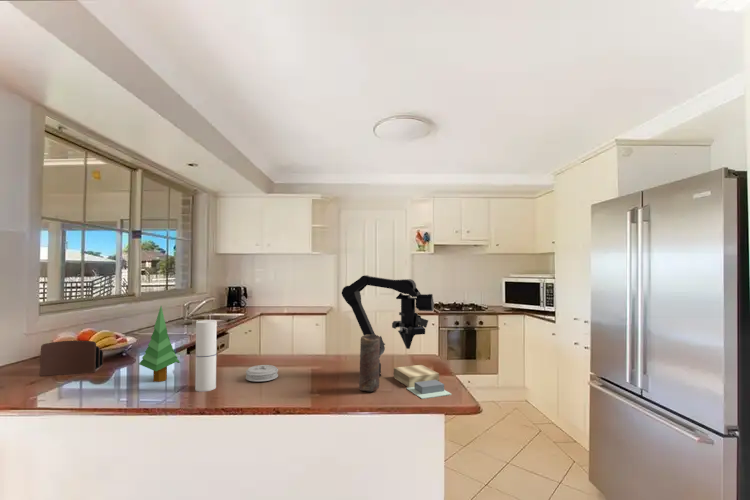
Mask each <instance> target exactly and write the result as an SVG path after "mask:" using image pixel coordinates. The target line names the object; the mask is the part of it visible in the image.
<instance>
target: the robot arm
mask: <svg viewBox="0 0 750 500" xmlns="http://www.w3.org/2000/svg"><path fill="white" fill-rule="evenodd" d="M367 286H371V287H376V288H377V287H378V288H384V289H385V288H386V289H390V290H394V291H396V292H398V293H399V294H398V295H397V296H396V297H395V298H396V300H400V312H398V315H399V316H400V320H394V321H393V322H392V323H391V328H392V329H396V330H397V328H399V330H397V332H398V333H399V335H400V338H401V339H402V341H403V344H404V346H405V348H406V349H407V350H410V348H411V345H412V343H413V339H414V337H415V336H418V335H426V329H427V326H428V323H429V319H425V318H422V315H419V314H418V313H417V312H416V309H417V310H418V311H420V312H421V311H422V312H434V307H435V302H434V297H433V293H428V294H425V293H424V294H423V293H421V292H420V290H419V289H418V288H417V284H416V282H415V280H413V279H410V278H409V279H406V278H405V279H403V278H402V279H390V278H385V277H384V278H383V277H378V276H370V275H368V274H367V275H366V274H365V275H362V276H360V278H358V279H357V280H356V281H354V282H352V283H350V285H345V286H344V287H343V288H342V290H341V295H342V298H343V299H344V301H345V302H346V303H347V304H348V306H350V307H351V310H352V312H353V313H354V317H355V319H356V321H357V322H358V325H359V328H360V329H361V333H362V336H364V335H367V334H368V335H369V334H370V335H371V334H373V335H376V334H375V331H374V329H373V327H372V324H371V322H370V320H369V318H368V315H367V313H366V311H365V309H364V307H363V303H362V295H361V292H362V291H363V290H364V289H365V288H366V287H367ZM379 337H380V356H379V377H381V376H382V370H381V369H382V364H381V360H380V358H381V356H382V355H383V354H384V352H385V348H386V347H385V346H386V343H385V342H384V340H383V338H382V335H380V336H379Z"/></svg>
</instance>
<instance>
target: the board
mask: <svg viewBox="0 0 750 500" xmlns="http://www.w3.org/2000/svg"><path fill="white" fill-rule="evenodd" d="M393 379H395V380H397V381H398V382H400V383H401V384H403V385H404V386H406V388H410V387H415V382H421V381H429V380H437V381H439V382H440V373H439V372H437V371H435V370H433V369H431V368H429V367H428V366H425V365H423V364H417V365H407V366H398V367H393Z"/></svg>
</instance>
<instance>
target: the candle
mask: <svg viewBox="0 0 750 500" xmlns="http://www.w3.org/2000/svg"><path fill="white" fill-rule="evenodd" d="M359 350H360V351H359V379H358V380H359V381H358V383H359V386H358V388H359V390H360V391H364V392H368V393H372V392H374V391H376V390H378V389H379V388H380V376H379V360H380V358H379V356H380V336H379V335H377V334H375V335H373V334H371V335H370V334H369V335H368V334H367V335H362V336H361V337H360V349H359ZM380 357H381V356H380Z"/></svg>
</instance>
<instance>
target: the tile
mask: <svg viewBox="0 0 750 500" xmlns="http://www.w3.org/2000/svg"><path fill="white" fill-rule="evenodd" d="M415 390H417V391H418V392H420V393H421V394H428V393H435V392H442V391H444V390H445V383H442V382H441V381H440V380H439V381H437V380H429V381H421V382H415Z"/></svg>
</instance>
